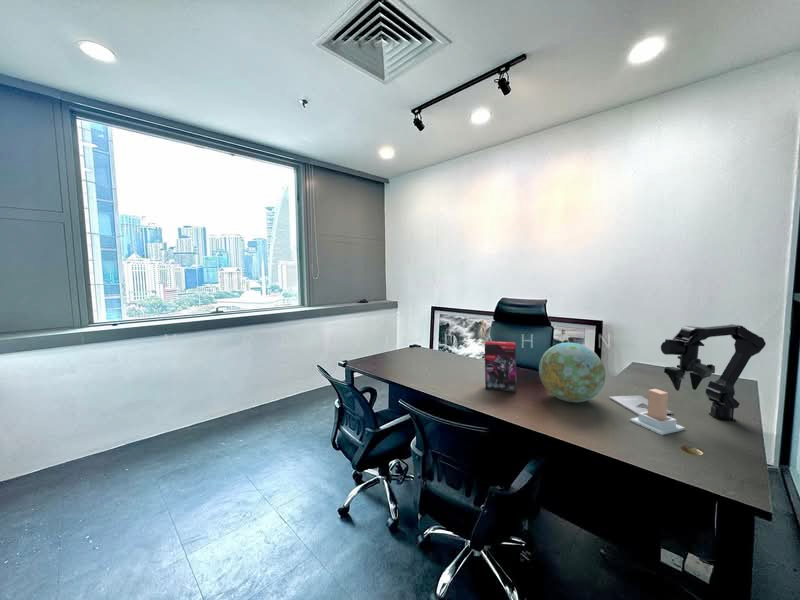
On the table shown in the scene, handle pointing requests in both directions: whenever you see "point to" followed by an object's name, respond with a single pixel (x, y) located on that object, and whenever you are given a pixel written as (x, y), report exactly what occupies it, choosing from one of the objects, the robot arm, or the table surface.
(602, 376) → the decorative globe
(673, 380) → the robot arm
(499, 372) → the graphics card box
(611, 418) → the table surface
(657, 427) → the white square socket base
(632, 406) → the play button award
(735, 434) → the table surface
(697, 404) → the table surface
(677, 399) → the table surface
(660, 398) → the tall salmon pillar
